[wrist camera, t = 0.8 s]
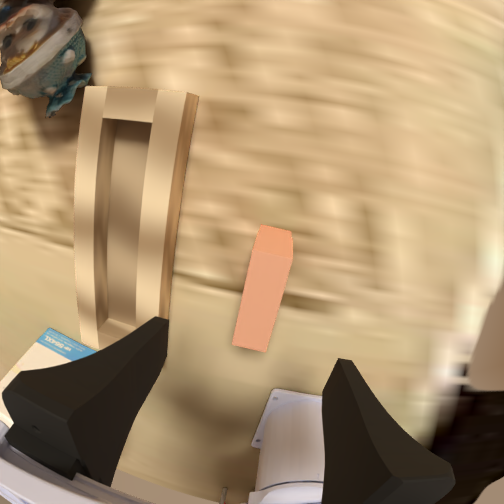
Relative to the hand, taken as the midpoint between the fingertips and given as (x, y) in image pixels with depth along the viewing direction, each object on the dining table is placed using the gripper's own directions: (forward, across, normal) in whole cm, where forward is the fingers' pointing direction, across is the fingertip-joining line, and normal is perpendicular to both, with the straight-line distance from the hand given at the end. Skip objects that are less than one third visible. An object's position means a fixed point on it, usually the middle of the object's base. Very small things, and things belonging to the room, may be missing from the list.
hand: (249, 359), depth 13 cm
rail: (+10, +10, 0) cm, 14 cm away
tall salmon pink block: (+10, 0, 0) cm, 10 cm away
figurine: (+10, +19, -15) cm, 26 cm away
